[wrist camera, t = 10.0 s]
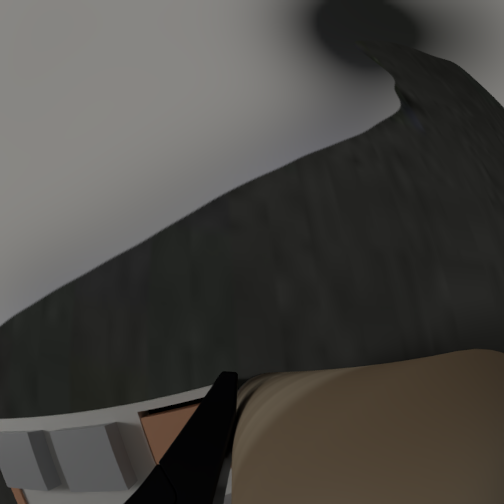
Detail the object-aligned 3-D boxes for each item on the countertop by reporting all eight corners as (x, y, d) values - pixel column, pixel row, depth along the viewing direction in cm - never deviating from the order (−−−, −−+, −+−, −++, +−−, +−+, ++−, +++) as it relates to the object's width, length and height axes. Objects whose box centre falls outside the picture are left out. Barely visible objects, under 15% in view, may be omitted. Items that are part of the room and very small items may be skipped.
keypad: (286, 524, 16) (298, 552, 12) (57, 544, 13) (33, 561, 8) (232, 379, 21) (231, 380, 16) (6, 418, 17) (-27, 420, 13)
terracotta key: (231, 456, 18) (231, 466, 15) (171, 469, 17) (163, 480, 15) (211, 399, 19) (208, 403, 17) (151, 413, 18) (140, 418, 16)
